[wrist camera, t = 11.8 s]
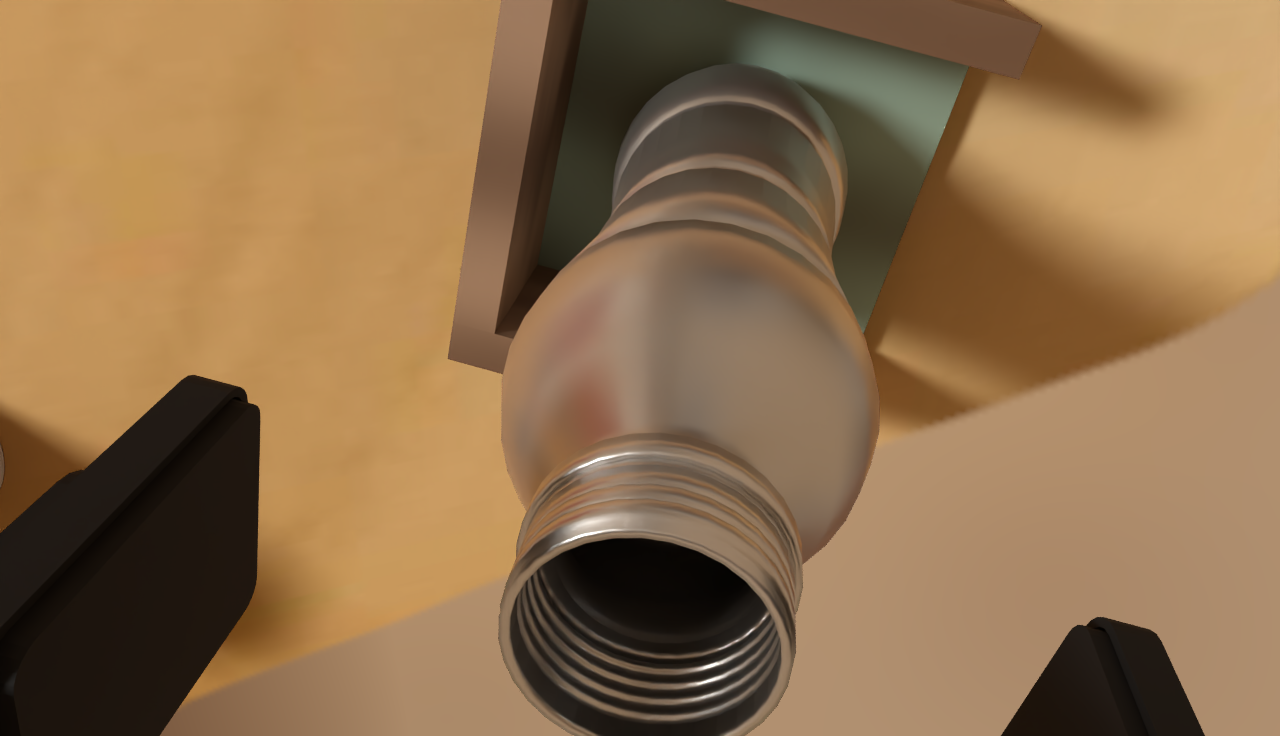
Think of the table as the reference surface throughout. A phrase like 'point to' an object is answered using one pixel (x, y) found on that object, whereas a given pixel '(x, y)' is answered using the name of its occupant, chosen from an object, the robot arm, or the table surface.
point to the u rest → (664, 52)
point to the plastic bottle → (687, 420)
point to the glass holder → (1, 466)
